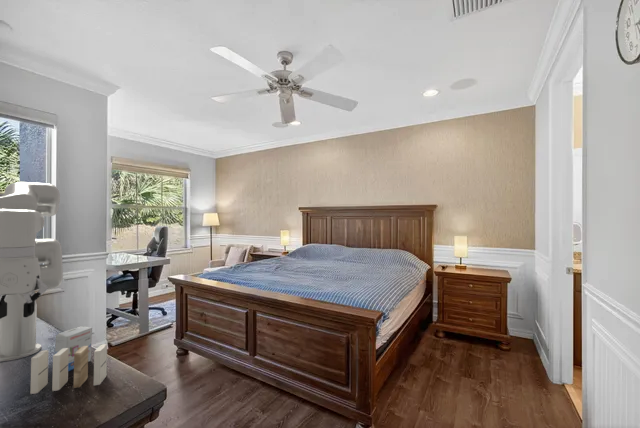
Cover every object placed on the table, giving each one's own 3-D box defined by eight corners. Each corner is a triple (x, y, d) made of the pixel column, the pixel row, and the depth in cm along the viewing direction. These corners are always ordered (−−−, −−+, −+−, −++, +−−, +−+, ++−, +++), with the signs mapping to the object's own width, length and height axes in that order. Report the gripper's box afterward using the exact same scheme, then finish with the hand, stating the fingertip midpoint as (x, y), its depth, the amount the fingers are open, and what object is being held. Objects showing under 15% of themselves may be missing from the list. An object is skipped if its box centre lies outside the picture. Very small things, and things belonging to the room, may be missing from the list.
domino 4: (93, 385, 88) (94, 351, 88) (100, 376, 92) (101, 344, 92) (99, 384, 88) (100, 350, 88) (106, 376, 93) (107, 344, 93)
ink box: (66, 373, 94) (67, 335, 94) (53, 371, 95) (54, 334, 95) (91, 360, 103) (92, 326, 103) (80, 359, 104) (80, 325, 104)
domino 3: (87, 378, 91) (88, 345, 92) (80, 387, 87) (80, 352, 87) (81, 379, 91) (82, 346, 91) (73, 388, 86) (74, 353, 86)
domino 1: (30, 394, 83) (31, 358, 83) (40, 384, 88) (41, 350, 88) (37, 393, 83) (38, 357, 84) (47, 383, 88) (48, 349, 88)
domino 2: (52, 391, 84) (52, 355, 85) (61, 381, 89) (62, 348, 89) (59, 390, 85) (59, 355, 85) (67, 381, 90) (68, 347, 90)
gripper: (-34, 255, 78) (-36, 324, 78) (46, 253, 83) (44, 318, 83) (-12, 252, 85) (-14, 315, 85) (60, 251, 91) (58, 310, 90)
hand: (15, 316), depth 84 cm, fingers open, 5 cm apart
